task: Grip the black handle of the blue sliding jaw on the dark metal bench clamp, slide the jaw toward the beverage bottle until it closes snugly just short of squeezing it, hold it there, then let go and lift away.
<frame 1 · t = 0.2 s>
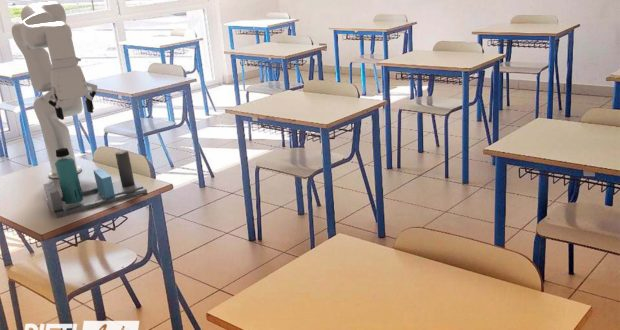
hand: (76, 115, 206), 31 cm above the table, tool pointing down, fingers open, 9 cm apart
clamp frame: (74, 204, 216), on the table
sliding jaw: (117, 173, 222), point 7 cm above the table, slide at 0.0 cm
beverage bottle: (74, 205, 216), resting in clamp frame
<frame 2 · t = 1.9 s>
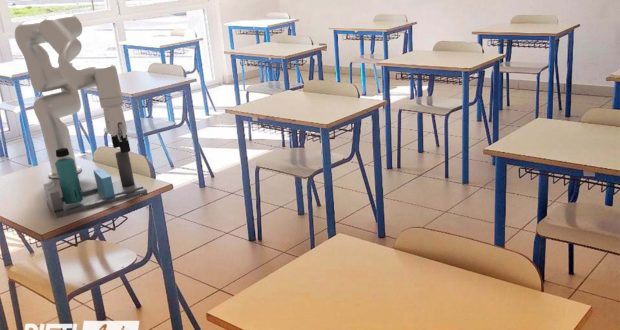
hand: (121, 149, 220), 15 cm above the table, tool pointing down, fingers open, 9 cm apart
nothing on the table moved.
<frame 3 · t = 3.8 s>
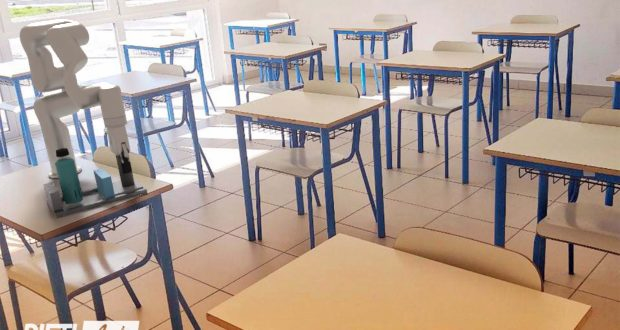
hand: (125, 170, 223), 7 cm above the table, tool pointing down, fingers closed on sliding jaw, 4 cm apart
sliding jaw: (117, 173, 222), point 7 cm above the table, slide at 0.0 cm, touching gripper
everything else where it was.
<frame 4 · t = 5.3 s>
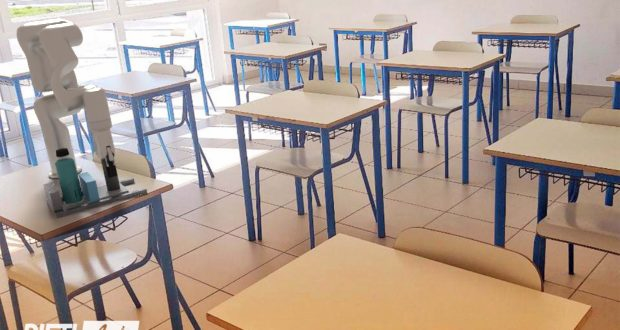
hand: (110, 174, 221), 7 cm above the table, tool pointing down, fingers closed on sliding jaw, 4 cm apart
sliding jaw: (102, 176, 219), point 7 cm above the table, slide at 5.2 cm, touching gripper
everything else where it was.
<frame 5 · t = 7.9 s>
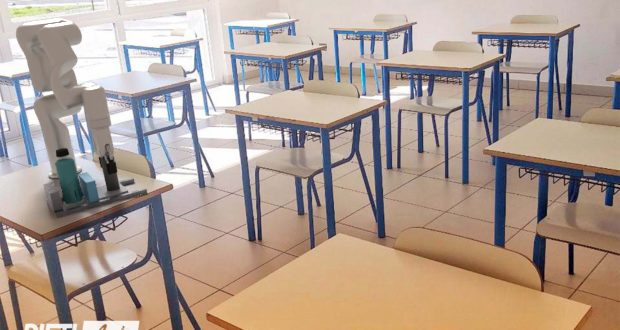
hand: (109, 169, 220), 9 cm above the table, tool pointing down, fingers open, 9 cm apart
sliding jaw: (101, 176, 219), point 7 cm above the table, slide at 5.3 cm
everything else where it was.
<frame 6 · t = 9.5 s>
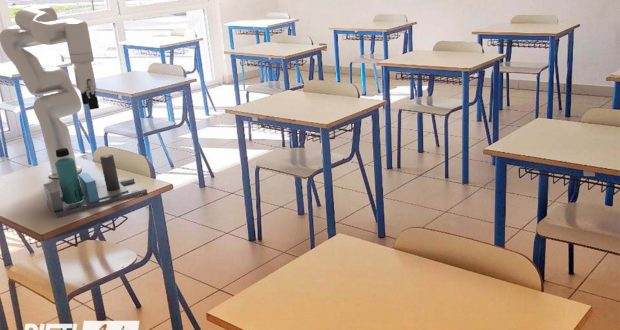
hand: (91, 106, 223), 30 cm above the table, tool pointing down, fingers open, 9 cm apart
nothing on the table moved.
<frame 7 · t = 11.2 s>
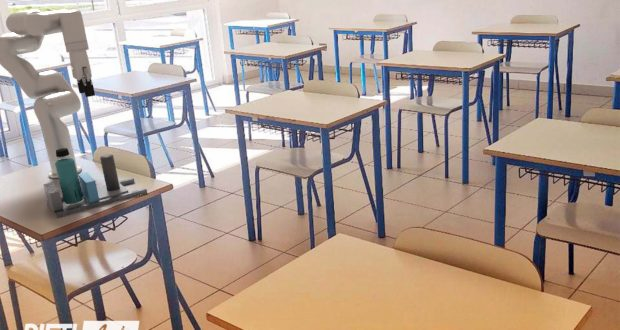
hand: (87, 94, 227), 33 cm above the table, tool pointing down, fingers open, 9 cm apart
nothing on the table moved.
at the end: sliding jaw slide at 5.3 cm; beverage bottle moved 0.2 cm from its start; beverage bottle tilted 0° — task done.
